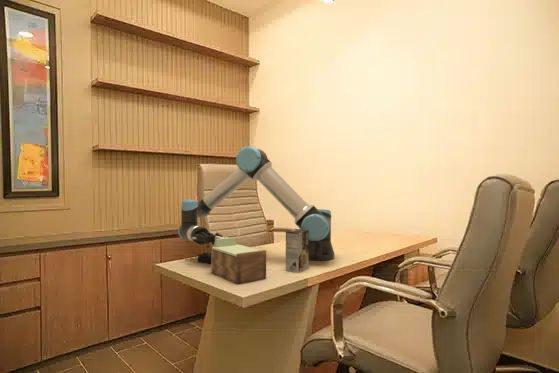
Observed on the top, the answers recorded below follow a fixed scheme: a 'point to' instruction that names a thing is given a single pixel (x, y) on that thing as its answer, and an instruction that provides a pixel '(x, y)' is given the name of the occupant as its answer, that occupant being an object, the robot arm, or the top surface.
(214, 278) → the top surface
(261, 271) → the box
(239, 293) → the top surface
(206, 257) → the portable cd player
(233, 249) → the lid
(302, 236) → the coffee box
